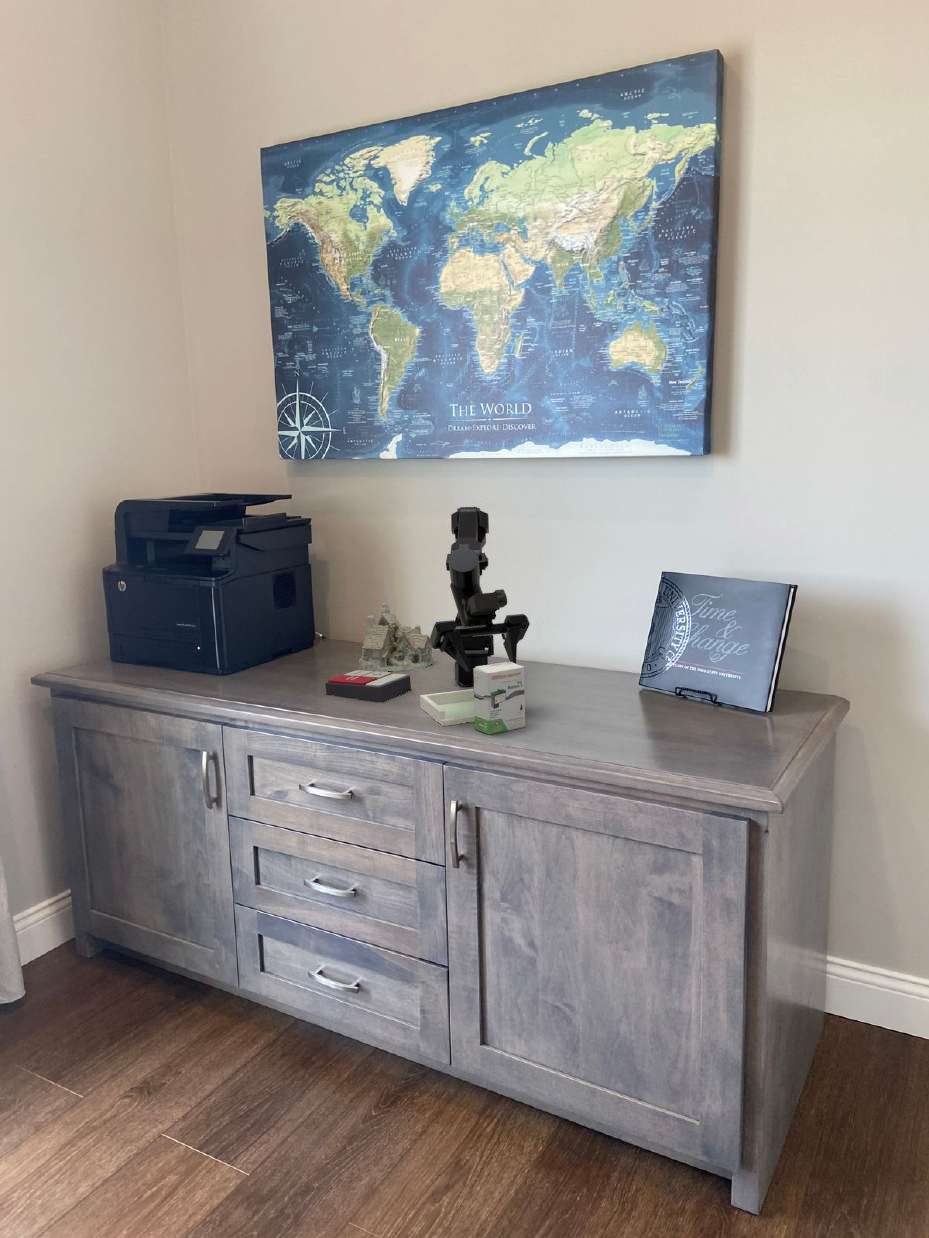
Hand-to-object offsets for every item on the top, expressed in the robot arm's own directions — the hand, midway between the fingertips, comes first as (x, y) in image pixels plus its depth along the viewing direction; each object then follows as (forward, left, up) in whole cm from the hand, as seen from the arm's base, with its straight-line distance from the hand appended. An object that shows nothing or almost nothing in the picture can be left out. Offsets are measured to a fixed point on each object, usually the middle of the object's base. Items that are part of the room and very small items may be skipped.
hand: (491, 668), depth 174 cm
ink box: (0, +3, -11) cm, 11 cm away
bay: (+3, -9, -11) cm, 14 cm away
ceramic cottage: (+4, -53, -11) cm, 55 cm away
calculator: (+16, -32, -11) cm, 38 cm away
